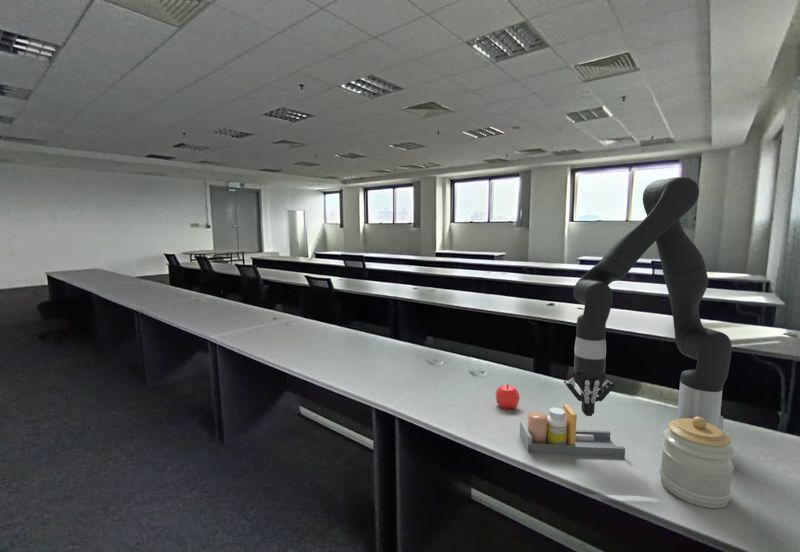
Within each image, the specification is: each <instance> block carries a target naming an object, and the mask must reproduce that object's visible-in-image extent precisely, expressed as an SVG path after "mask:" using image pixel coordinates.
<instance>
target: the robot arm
mask: <svg viewBox="0 0 800 552" xmlns="http://www.w3.org/2000/svg"><path fill="white" fill-rule="evenodd" d="M699 197H700V188H699V186H698V183H697V182H696V181H695V180H694V179H692V178H690V177H685V176H679V177H677V176H676V177H671V178H663V179H658V180H654V181H652V182H650V183H648V185H646V187H645V188H644V190H643V194H642V205H643V209H644V211H645V214H646V216H645V217H644V218H643V219H642V220H641V222H639V223H638V224H636V225H635V226H634V227H633V228H632V229H630V230H629V231H627V232H626V233H625V234H624V235H622V236H621V237H620V238H619V239H617V241H616V242H615V243H614V244H612V246H611V247H610V248H609V249H608V250H607V251H606V253H605V254H604V255H603V256H602V258H601V259H600V260H599V261H598V262H597V264H596V265H594V266H592V267H591V268H590V269H589V270H588V271H587V272H586V273H584V274H583V275H582V276H581V277H580V278H579V279H578V280H577V282H576V283H575V285H574V288H573V292H572V293H573V298H574V299H575V300H576V301H577V302H578V303H580V304H582V305H584V309H583V312H582V314H580V315H579V316H578V317H577V319H576V324H575V325H576V327H575V328H576V329H575V331H576V332H575V333H576V334H575V341H574V349H573V350H574V358H573V359H574V360H573V362H574V363H573V370H574V371H573V373H572V375H571V378H570V379H565V380H564V381H563V384H564V385H565V386H566V387H567V389H568V390H569V391H570V392H571V394H573V397H575V398H576V400H578V401H579V402H581V408H580V409H581V411H582V413H583V414H584V415H585V417H592V416H593V415H594V414H595V404H596V403H598V402H602V401H603V400H604V399H605V398H606V397H607V396H608V395H609V394H610V393H611V391H612V390H613V389H614V388H615V384H614V383H613V382H612V381H610V380H608V379H607V376H606V355H607V344H606V343H607V341H606V336H607V335H606V330H607V329H606V328H607V327H606V326H607V325H606V324H607V321H608V319H609V315H610V313H611V309H612V305H613V297H614V296H613V292H612V289H611V288H610V286H609V285H610V284H611V283H614V282H617V281H621V280H623V278H625V277H626V275H627V274H628V273H629V271H631V270H632V268H633V267H634V266H635V264H636V263H637V262H638V261H639V260H640V258H641V257H642V256H643V255H644V254H645V252H646V251H648V250H649V248H650V247H651V246H652V245H653V244H654V243H656V247H657V251H658V256H659V260H660V264H661V268H662V273H663V277H664V283H665V286H666V289H667V292H668V297H669V302H670V307H671V312H672V320H673V321H672V322H673V328H674V329H673V331H674V339H675V344H676V348H677V349H678V351H679V352H680V353H681V354H683V355H684V356H685V357H687V358H690V359H692V360H696V361H697V362H696V366H695V369H687V370H682V372H681V374H680V380H679V390H678V393H679V394H678V403H677V413H676V414H677V415H676V416H677V417H676V420H678V419H681V418H690V419H693V418H694V417H697V416H698V417H702V418H703V419H705V421H706V422H707V423H710V424H712V425H714V426H716V427H718V428H719V429H720V430H722V431H723V430H724V418H725V417H724V416H723V415H721V410H722V409H721V408H722V398H723V389H724V384H725V382H726V380H727V378H728V375H729V371H730V370H729V369H730V365H731V364H730V363H731V360H732V353H733V349H732V347H733V344H732V342H731V339H730V337H729V336H728V335H727V334H726V333H724V332H721V331H718V330H716V329H712V328H711V329H710V328H706V327H704V326H703V324H702V321H701V317H700V309H699V308H700V303H701V301H702V299H703V297H704V295H705V293H706V291H707V288H708V285H709V277H708V272H707V269H706V268H707V267H706V263H705V260H704V256H703V255H702V254H701V251H700V250H699V249H698V247H697V246H696V244H694V242H693V241H692V240H691V238H690V237H689V236H688V235H687V233H686V232H685V230H684V229H683V226H682V225H681V224H682V223H681V221H680V219H682V218H683V216H684V215H686V214H687V213H688V212H689V211H690V210H691V209H693V207H694V206H695V204H696V203H697V201H698V199H699ZM576 385H577V386H578V387H579V390H580V391H579V392H580V393H579V392H578V391H577V389H576V388H575V387H576ZM723 432H724V431H723Z"/></svg>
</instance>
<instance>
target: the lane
mask: <svg viewBox="0 0 800 552" xmlns="http://www.w3.org/2000/svg"><path fill="white" fill-rule="evenodd" d="M576 434H586V435H593V436H594V441H578V440H575V445H568V444H540V443H532V436H531V434H530V432H529V430H528V425H526V422H525V420H519V435H520V436H519V437H520V438H521V441H522V442H523V445H524V448H525V449H526V452H528V453H535V454H536V453H537V454H565V455H588V456H589V455H590V456H591V455H592V456H613V457H614V456H617V457H618V456H619V457H621V458H622V459H623V460H624V459H625V457H626V448H625V446H623V445H622V446H621V445H618V446H616V444H615V443H614V442H613V441H612V440H611V432H610V431H609V430H591V429H590V430H589V429H576Z"/></svg>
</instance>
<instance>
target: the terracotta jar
mask: <svg viewBox="0 0 800 552" xmlns="http://www.w3.org/2000/svg"><path fill="white" fill-rule="evenodd" d="M547 417H548V416H547V415H546V414H544V413H542V412H539V411H532V412H529V413H528V415H527V428H528V430H529V432H530V434H531V436H532V443H540V444H547Z"/></svg>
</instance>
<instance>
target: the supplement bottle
mask: <svg viewBox="0 0 800 552" xmlns="http://www.w3.org/2000/svg"><path fill="white" fill-rule="evenodd" d="M548 411H549V413H548V416H547V444H567V420H566V419H565V411H564V410H563V408H559V407H550V408H549V410H548Z"/></svg>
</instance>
